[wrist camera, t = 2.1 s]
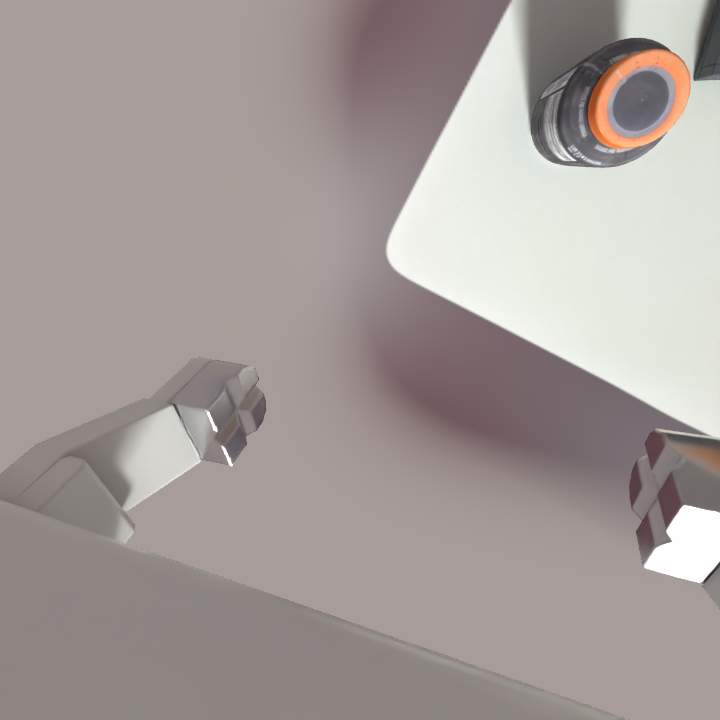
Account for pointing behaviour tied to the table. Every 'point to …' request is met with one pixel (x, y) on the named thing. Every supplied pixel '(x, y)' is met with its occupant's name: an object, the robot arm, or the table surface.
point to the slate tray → (711, 50)
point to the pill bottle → (611, 105)
